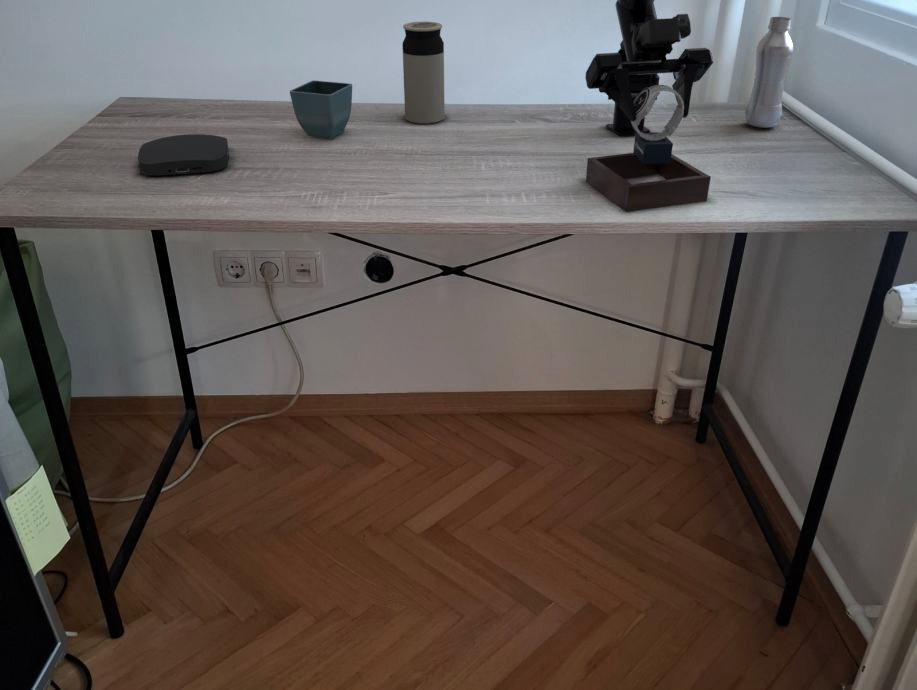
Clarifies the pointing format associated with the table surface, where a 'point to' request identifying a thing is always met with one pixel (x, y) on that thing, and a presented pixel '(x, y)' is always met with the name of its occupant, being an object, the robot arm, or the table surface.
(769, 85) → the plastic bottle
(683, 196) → the tray
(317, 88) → the flower pot
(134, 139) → the table surface
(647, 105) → the watch
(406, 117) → the travel mug
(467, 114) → the table surface
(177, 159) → the media streaming box
